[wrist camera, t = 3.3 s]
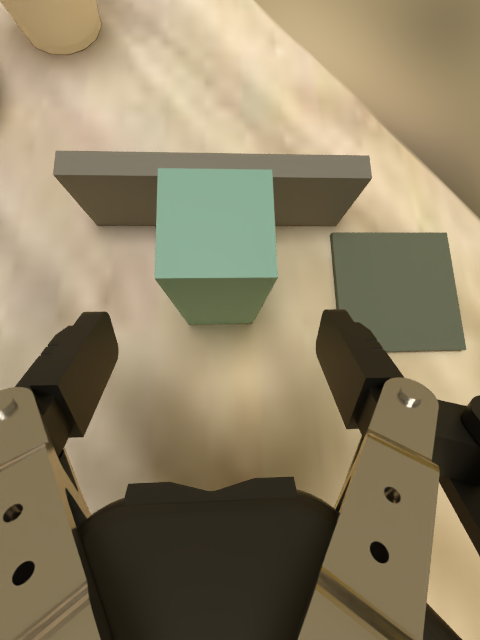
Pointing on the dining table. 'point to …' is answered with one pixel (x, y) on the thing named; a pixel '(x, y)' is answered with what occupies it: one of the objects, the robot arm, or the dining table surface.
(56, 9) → the foam cup
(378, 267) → the mat
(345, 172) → the screen
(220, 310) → the block
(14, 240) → the dining table surface
